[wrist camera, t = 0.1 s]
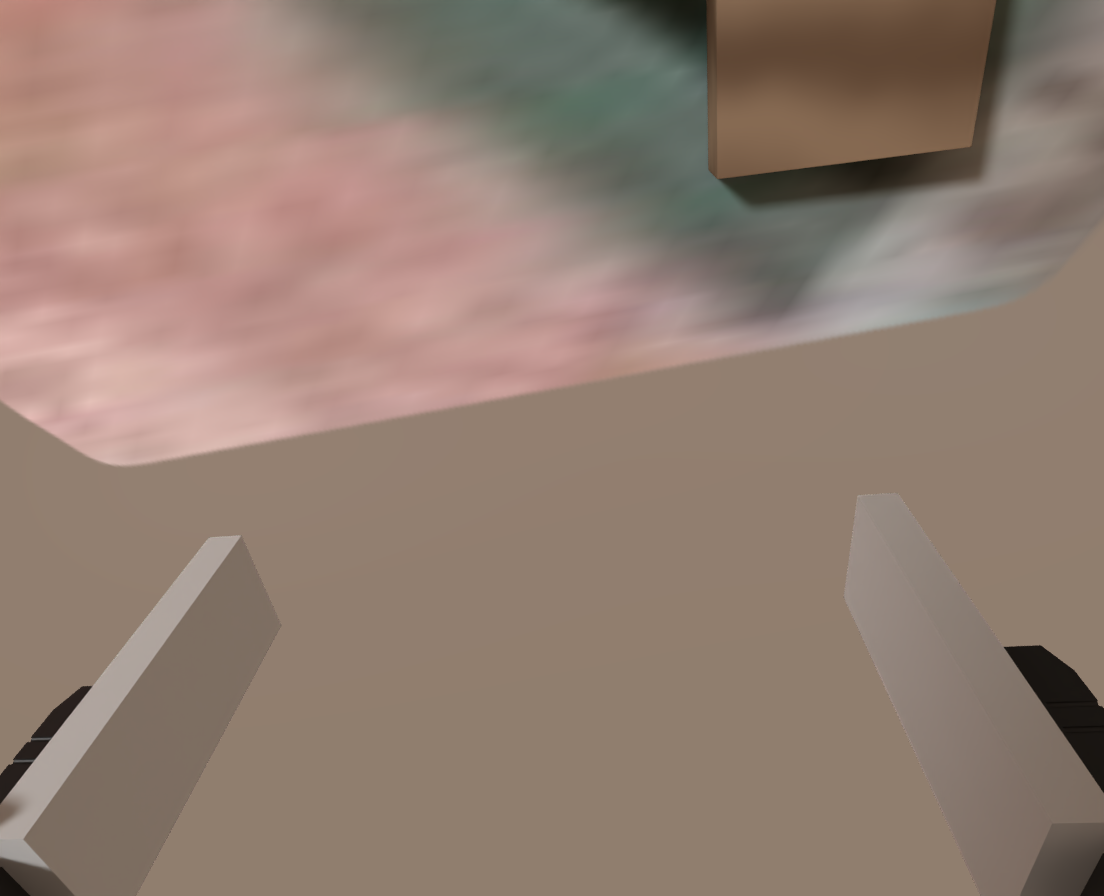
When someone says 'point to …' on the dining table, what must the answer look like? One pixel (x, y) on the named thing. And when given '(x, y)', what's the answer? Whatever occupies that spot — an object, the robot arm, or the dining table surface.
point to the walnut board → (840, 80)
